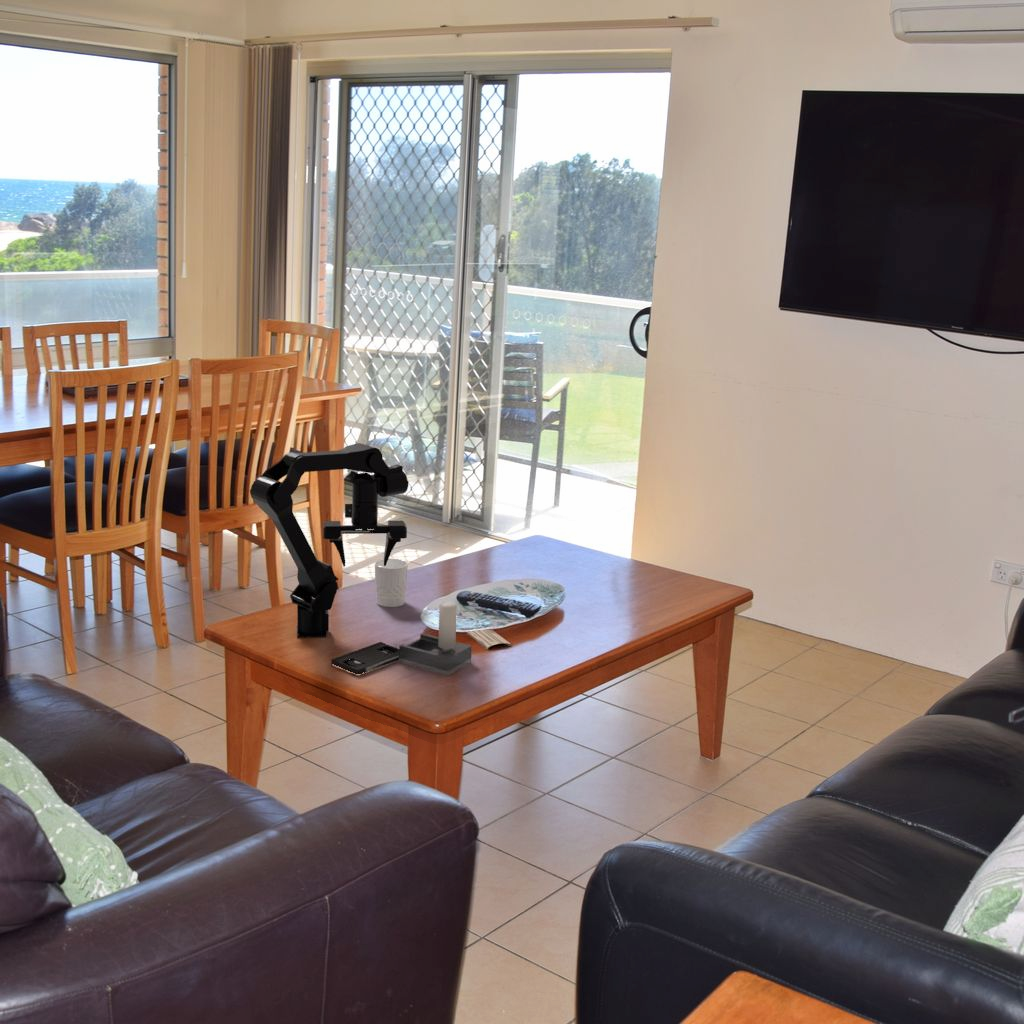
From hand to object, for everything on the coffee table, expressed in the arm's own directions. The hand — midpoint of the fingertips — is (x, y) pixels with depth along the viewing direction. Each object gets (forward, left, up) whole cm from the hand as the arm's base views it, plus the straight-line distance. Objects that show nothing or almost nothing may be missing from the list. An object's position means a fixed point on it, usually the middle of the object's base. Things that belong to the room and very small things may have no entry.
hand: (364, 565), depth 272 cm
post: (+16, -29, -12) cm, 35 cm away
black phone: (0, -26, -14) cm, 29 cm away
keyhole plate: (+13, -27, -13) cm, 33 cm away
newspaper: (+26, -8, -14) cm, 30 cm away
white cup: (+7, +11, -13) cm, 19 cm away
